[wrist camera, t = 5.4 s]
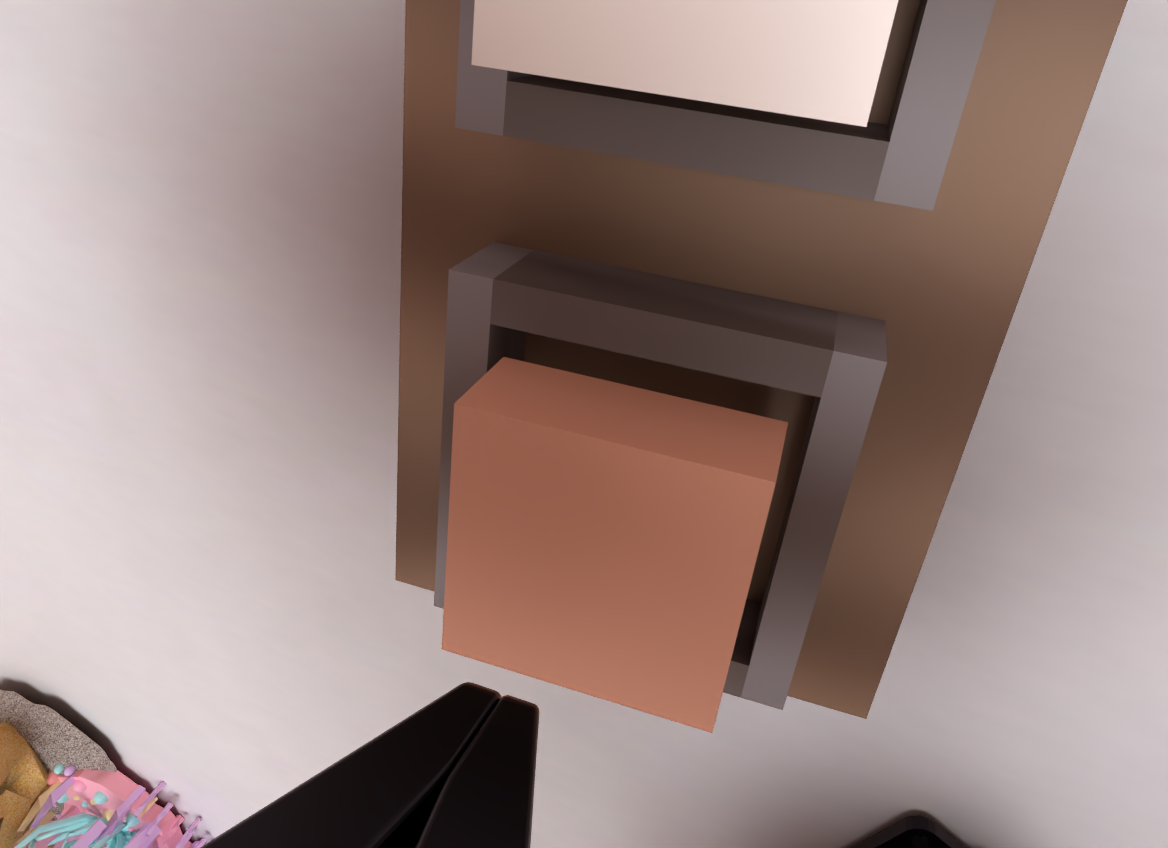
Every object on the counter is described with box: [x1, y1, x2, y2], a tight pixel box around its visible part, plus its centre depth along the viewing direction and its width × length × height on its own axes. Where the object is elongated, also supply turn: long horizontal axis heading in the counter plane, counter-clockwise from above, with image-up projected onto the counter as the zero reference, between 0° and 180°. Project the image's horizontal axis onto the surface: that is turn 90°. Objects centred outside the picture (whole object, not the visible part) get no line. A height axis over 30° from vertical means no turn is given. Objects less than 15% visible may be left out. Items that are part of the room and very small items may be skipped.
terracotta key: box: [442, 357, 788, 733], centre depth 14 cm, size 5×5×2 cm
